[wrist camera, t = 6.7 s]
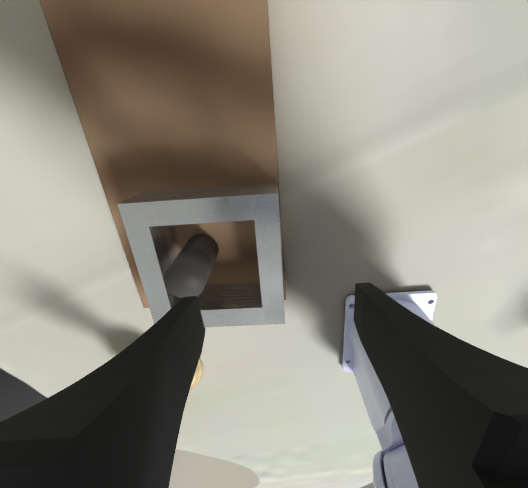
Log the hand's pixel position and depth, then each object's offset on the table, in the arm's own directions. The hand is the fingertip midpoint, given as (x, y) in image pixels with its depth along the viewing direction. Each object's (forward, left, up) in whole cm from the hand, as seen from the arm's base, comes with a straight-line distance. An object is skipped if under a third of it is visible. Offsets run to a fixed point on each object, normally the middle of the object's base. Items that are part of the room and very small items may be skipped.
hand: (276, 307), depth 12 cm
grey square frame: (-1, +5, -9) cm, 10 cm away
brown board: (+5, +6, -10) cm, 13 cm away
